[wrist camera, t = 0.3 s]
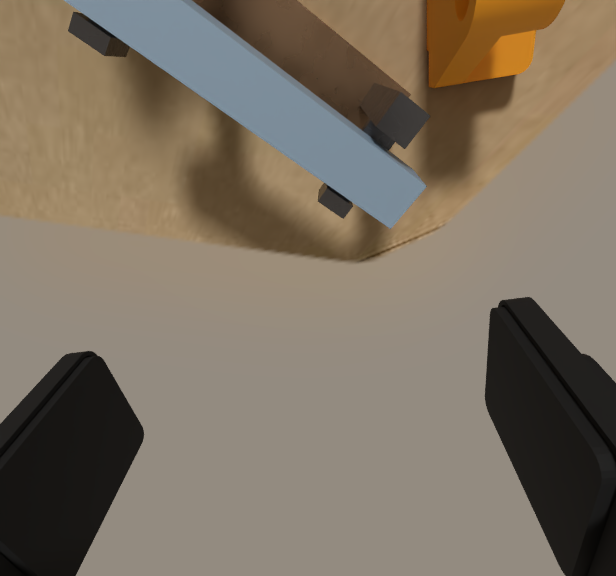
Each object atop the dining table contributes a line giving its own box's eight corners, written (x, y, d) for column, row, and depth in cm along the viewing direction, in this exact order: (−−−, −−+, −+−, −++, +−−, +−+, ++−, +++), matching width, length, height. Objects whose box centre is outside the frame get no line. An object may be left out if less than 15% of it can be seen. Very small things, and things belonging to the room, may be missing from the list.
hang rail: (73, -91, 19) (14, -127, 15) (412, 169, 24) (426, 186, 21) (57, -26, 20) (-1, -45, 17) (382, 207, 25) (390, 229, 22)
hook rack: (197, -80, 28) (80, -211, 15) (407, 93, 32) (458, 110, 20) (153, 36, 31) (29, 14, 18) (347, 175, 36) (357, 236, 23)
